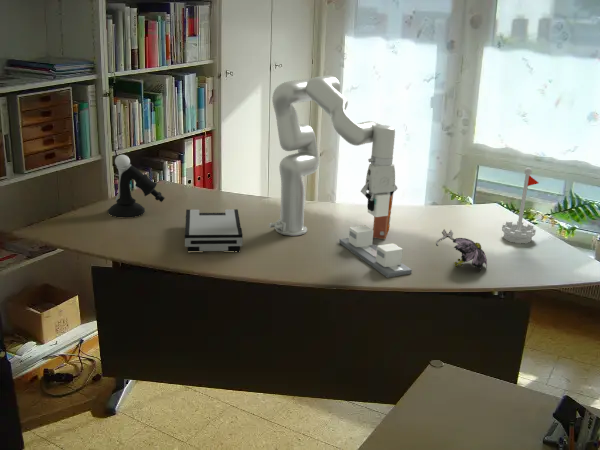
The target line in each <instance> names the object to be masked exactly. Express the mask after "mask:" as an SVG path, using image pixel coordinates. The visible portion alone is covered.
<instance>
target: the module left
mask: <svg viewBox="0 0 600 450" xmlns="http://www.w3.org/2000/svg"><path fill="white" fill-rule="evenodd" d="M348 231H349V232H348V238H349V243H351V244H352V245H354V246H355V247H363V246H370V245H372V243H373V241H374V240H373V239H374V238H373V228H370V227H369V226H367V225H358V226H350V227H349V230H348Z"/></svg>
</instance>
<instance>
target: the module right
mask: <svg viewBox="0 0 600 450" xmlns="http://www.w3.org/2000/svg"><path fill="white" fill-rule="evenodd" d="M376 246H377V253H376V262H378V263H379V264H381V265H382V266H383V267H390V266H396V265H401V263H403V262H402V260H403V250H404V249H403V248H402V247H400V246H398V245H397V244H396V243H387V244H386V243H385V244H380V245H376Z"/></svg>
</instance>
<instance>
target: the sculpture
mask: <svg viewBox="0 0 600 450" xmlns="http://www.w3.org/2000/svg"><path fill="white" fill-rule="evenodd" d="M114 164H115V167H116V169H117V170H118V189H117V190H118V194H117V195H116V197H115V199H114V201H116V203H114V204H113V205H111V206H110V208H108V210H107V214H108V213H109V214H110V215H112V216H111V217H113V216H116V217H115V218H117V217H133V218H136V217H135V216H138V217H140V216H142V215H144V214H145V213H144V212H146V211H145V209H146V208H145V207H144V206H142V204H140V203H138V202H136V199H135V198H133V196H132V193H131V185H130V183H131V180H133V181H134V182H135V187H137V188H139V189H140V190H141V191H142V192H143V195H144V197H146V196H149V195H153V196H154V199H155V200H156V201H159V202H160V203H162V202H163V201H164V200H165V197H164V196H163V195H162V193H161V191H157V190H156V187H157V184H158V182H155V181H153V180H151V179H150V178H149V176H148V175H147V173H145V174H143V173H142V172H141V171H140V170H139V169H138V168H137V167H136V166H134V165H132V164H131V159H130V158H129V156H128V155H127V154H126V155H125V154H119V155H117V156H116V157H115V159H114ZM143 213H144V214H143ZM109 214H108V215H109ZM141 214H142V215H141ZM110 215H109V216H110ZM139 215H140V216H139Z"/></svg>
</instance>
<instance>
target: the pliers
mask: <svg viewBox="0 0 600 450" xmlns="http://www.w3.org/2000/svg"><path fill="white" fill-rule="evenodd" d="M441 233H442V235H443V236H442V237H441V238H439V239H437V240H436V242H435V244H436V246H437V247H439V242H441V241H443V240H445V239H446V238H449V239H450V240H452V241H453V239H455V238H454V237H453V234H454V232H453V230H452V229H450V230H449V232H447V231H446V229H445V228H443V231H442V232H441ZM442 239H443V240H442ZM440 240H441V241H440ZM458 244H460V243H457V245H458Z"/></svg>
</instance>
